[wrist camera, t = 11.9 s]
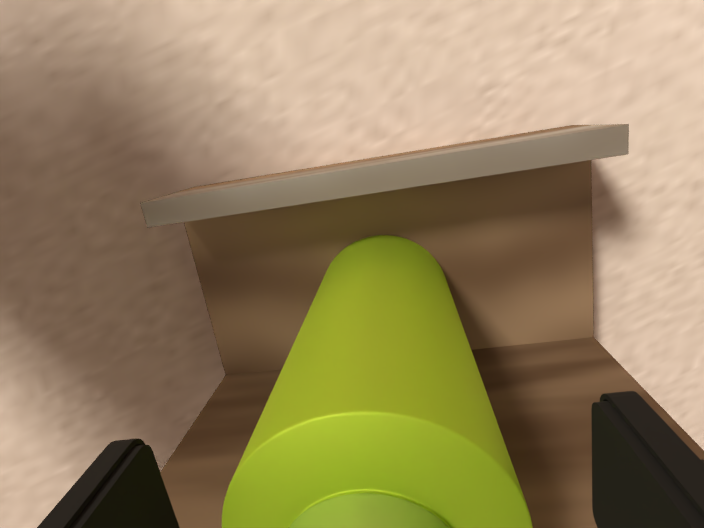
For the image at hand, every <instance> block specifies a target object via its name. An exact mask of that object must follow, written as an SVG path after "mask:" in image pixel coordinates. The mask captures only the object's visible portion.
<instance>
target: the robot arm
mask: <svg viewBox="0 0 704 528" xmlns="http://www.w3.org/2000/svg"><path fill="white" fill-rule="evenodd" d="M591 414H592V510H593V516H594V520H595V523H596V525H597V528H704V460H703V459H702V460H700V459H699V457H698V456H697V455H696V454H695V453H694V452H693V451H692V450H691V449H690V448H689V447H688V446H687V445H686V444H685V443H684V442H683V441H682V439H681V438H680V437H679V436H678V435H677V434H676V433H675V432H674V431H673V430H672V429H671V428H670V427H669V426H668V425H667V424H666V422H665V421H664V420H663V419H662V418H661V417H660V416H659V415H658V414H657V413H656V412H655V411H654V410H653V409H652V408H651V407H650V406H649V404H648V403H647V402H646V401H645V400H644V399H643V398H642V397H641V396H640V395H639V394H638V393H637V392H635V391H625V392H614V393H604V394H602V395H601V397H600V402H594V403H593V404H592V409H591ZM37 528H180V527H179V524H178V521H177V519H176V516H175V513H174V510H173V507H172V505H171V502H170V499H169V496H168V493H167V490H166V488H165V485H164V482H163V479H162V476H161V474H160V471H159V468H158V465H157V462H156V460H155V457H154V454H153V451H152V449H151V447H150V446H149V445H145V443H144V442H143V441H142V440H141V439H130V440H119V441H114V442H111V443H110V444H109V445H108V446H107V447H106V448H105V449H104V450H103V452H102V453H101V454H100V455H99V456H98V457H97V459H96V460H95V461H94V462H93V463H92V464H91V466H90V467H89V468H88V469H87V470H86V471H85V472H84V474H83V475H82V476H81V477H80V478H79V479H78V481H77V482H76V483H75V484H74V485H73V486H72V488H71V489H70V490H69V491H68V492H67V493H66V495H65V496H64V497H63V498H62V499H61V500H60V502H59V503H58V504H57V505H56V506H55V507H54V509H53V510H52V511H51V512H50V513H49V514H48V516H47V517H46V518H45V519H44V520H43V521H42V523H41V524H40V525H39V526H38V527H37Z"/></svg>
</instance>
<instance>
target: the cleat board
mask: <svg viewBox="0 0 704 528" xmlns="http://www.w3.org/2000/svg"><path fill="white" fill-rule="evenodd" d="M628 137H629V124H618V125H571V126H565V127H559V128H553V129H547V130H540V131H534V132H528V133H522V134H516V135H510V136H504V137H498V138H491V139H485V140H479V141H473V142H467V143H461V144H455V145H449V146H442V147H436V148H430V149H424V150H418V151H412V152H406V153H400V154H393V155H387V156H381V157H375V158H369V159H363V160H357V161H351V162H344V163H338V164H332V165H326V166H320V167H314V168H308V169H302V170H295V171H289V172H283V173H277V174H271V175H265V176H259V177H253V178H246V179H240V180H234V181H228V182H222V183H216V184H210V185H204V186H197V187H193V188H189V189H186V190H182V191H179V192H176V193H172V194H169V195H165V196H162V197H159V198H155V199H152V200H148V201H145V202H142V203H140V204H141V207H142V211H143V214H144V217H145V221H146V224H147V228H149V227H155V226H162V225H168V224H175V223H182V222H184V224H185V228H186V232H187V235H188V239H189V243H190V246H191V250H192V253H193V257H194V261H195V264H196V268H197V272H198V275H199V279H200V283H201V286H202V290H203V294H204V297H205V301H206V305H207V308H208V312H209V316H210V319H211V323H212V327H213V330H214V334H215V338H216V341H217V345H218V349H219V352H220V356H221V359H222V363H223V367H224V370H225V374H226V376H225V377H224V379H223V380H222V382H221V383H220V385H219V386H218V388H217V389H216V391H215V392H214V394H213V395H212V397H211V398H210V399H209V401H208V402H207V404H206V405H205V407H204V408H203V410H202V411H201V413H200V414H199V416H198V417H197V419H196V420H195V422H194V423H193V425H192V426H191V428H190V429H189V431H188V432H187V434H186V435H185V437H184V438H183V440H182V441H181V443H180V444H179V446H178V447H177V448H176V450H175V451H174V453H173V454H172V456H171V457H170V459H169V460H168V462H167V463H166V465H165V466H164V468H163V469H162V471H161V472H160V474H161V476H162V479H163V482H164V485H165V488H166V490H167V493H168V496H169V499H170V502H171V505H172V507H173V510H174V513H175V516H176V519H177V521H178V524H179V527H180V528H222V510H223V504H224V500H225V496H226V493H227V490H228V487H229V484H230V482H231V480H232V478H233V476H234V473H235V471H236V469H237V467H238V465H239V462H240V460H241V458H242V456H243V454H244V451H245V449H246V447H247V445H248V443H249V440H250V438H251V436H252V434H253V432H254V429H255V427H256V425H257V423H258V421H259V418H260V416H261V414H262V412H263V410H264V408H265V405H266V403H267V401H268V399H269V397H270V394H271V392H272V390H273V388H274V386H275V383H276V381H277V379H278V377H279V375H280V372H281V370H282V368H283V366H284V364H285V361H286V359H287V357H288V355H289V353H290V350H291V348H292V346H293V344H294V342H295V339H296V337H297V335H298V333H299V331H300V328H301V326H302V324H303V322H304V320H305V318H306V315H307V313H308V311H309V309H310V307H311V304H312V302H313V300H314V298H315V296H316V293H317V291H318V289H319V287H320V285H321V282H322V280H323V278H324V276H325V274H326V271H327V269H328V267H329V265H330V264H331V262H332V261H333V260H334V258H335V257H336V256H337V255H338V254H339V253H340V252H341V251H342V250H343V249H344V248H346V247H347V246H349V245H350V244H352V243H354V242H356V241H358V240H360V239H363V238H366V237H370V236H376V235H392V236H398V237H402V238H405V239H408V240H411V241H413V242H415V243H417V244H419V245H420V246H422V247H423V248H424V249H426V250H427V251H428V252H429V253H430V254H431V255H432V256H433V257H434V258H435V259H436V261H437V262H438V264H439V265H440V267H441V269H442V271H443V273H444V275H445V278H446V281H447V284H448V287H449V289H450V292H451V295H452V298H453V300H454V303H455V306H456V309H457V312H458V314H459V317H460V320H461V323H462V326H463V328H464V331H465V334H466V337H467V339H468V342H469V345H470V348H471V351H472V353H473V356H474V359H475V362H476V365H477V367H478V370H479V373H480V376H481V378H482V381H483V384H484V387H485V390H486V392H487V395H488V398H489V401H490V404H491V406H492V409H493V412H494V415H495V417H496V420H497V423H498V426H499V429H500V431H501V434H502V437H503V440H504V443H505V445H506V448H507V451H508V454H509V456H510V459H511V462H512V465H513V468H514V470H515V473H516V476H517V479H518V482H519V484H520V487H521V490H522V493H523V495H524V498H525V501H526V504H527V507H528V510H529V513H530V517H531V521H532V526H533V528H597V525H596V523H595V520H594V516H593V510H592V414H591V409H592V404H593V403H594V402H600V397H601V395H602V394H604V393H614V392H625V391H635V392H637V393H638V394H639V395H640V396H641V397H642V398H643V399H644V400H645V401H646V402H647V403H648V404H649V406H650V407H651V408H652V409H653V410H654V411H655V412H656V413H657V414H658V415H659V416H660V417H661V418H662V419H663V420H664V421H665V422H666V424H667V425H668V426H669V427H670V428H671V429H672V430H673V431H674V432H675V433H676V434H677V435H678V436H679V437H680V438H681V439H682V441H683V442H684V443H685V444H686V445H687V446H688V447H689V448H690V449H691V450H692V451H693V452H694V453H695V454H696V455H697V456H698V457H699V459H700V460H702V459H703V460H704V451H703V450H702V448H701V447H700V446H699V445H698V444H697V443H696V442H695V441H694V440H693V439H692V438H691V437H690V436H689V435H688V434H687V433H686V432H685V431H684V430H683V429H682V428H681V427H680V426H679V425H678V424H677V423H676V422H675V421H674V420H673V419H672V418H671V417H670V415H669V414H668V413H667V412H666V411H665V410H664V409H663V408H662V407H661V406H660V405H659V404H658V403H657V402H656V401H655V400H654V399H653V398H652V397H651V396H650V395H649V394H648V393H647V392H646V391H645V390H644V389H643V388H642V387H641V386H640V385H639V384H638V382H637V381H636V380H635V379H634V378H633V377H632V376H631V375H630V374H629V373H628V372H627V371H626V370H625V369H624V368H623V367H622V366H621V365H620V364H619V363H618V362H617V361H616V360H615V359H614V358H613V357H612V356H611V355H610V354H609V353H608V352H607V351H606V349H605V348H604V347H603V346H602V345H601V344H600V343H599V342H598V341H597V340H596V339H595V338H594V337H593V264H592V186H591V160H594V159H600V158H607V157H613V156H620V155H626V154H628Z"/></svg>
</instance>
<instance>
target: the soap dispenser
mask: <svg viewBox="0 0 704 528" xmlns="http://www.w3.org/2000/svg"><path fill="white" fill-rule="evenodd" d="M222 528H533V526H532V521H531V517H530V513H529V510H528V507H527V504H526V501H525V498H524V495H523V493H522V490H521V487H520V484H519V482H518V479H517V476H516V473H515V470H514V468H513V465H512V462H511V459H510V456H509V454H508V451H507V448H506V445H505V443H504V440H503V437H502V434H501V431H500V429H499V426H498V423H497V420H496V417H495V415H494V412H493V409H492V406H491V404H490V401H489V398H488V395H487V392H486V390H485V387H484V384H483V381H482V378H481V376H480V373H479V370H478V367H477V365H476V362H475V359H474V356H473V353H472V351H471V348H470V345H469V342H468V339H467V337H466V334H465V331H464V328H463V326H462V323H461V320H460V317H459V314H458V312H457V309H456V306H455V303H454V300H453V298H452V295H451V292H450V289H449V287H448V284H447V281H446V278H445V275H444V273H443V271H442V269H441V267H440V265H439V264H438V262H437V261H436V259H435V258H434V257H433V256H432V255H431V254H430V253H429V252H428V251H427V250H426V249H424V248H423V247H422V246H420V245H419V244H417V243H415V242H413V241H411V240H408V239H405V238H402V237H398V236H392V235H376V236H370V237H366V238H363V239H360V240H358V241H356V242H354V243H352V244H350V245H349V246H347V247H346V248H344V249H343V250H342V251H341V252H340V253H339V254H338V255H337V256H336V257H335V258H334V260H333V261H332V262H331V264H330V265H329V267H328V269H327V271H326V274H325V276H324V278H323V280H322V282H321V285H320V287H319V289H318V291H317V293H316V296H315V298H314V300H313V302H312V304H311V307H310V309H309V311H308V313H307V315H306V318H305V320H304V322H303V324H302V326H301V328H300V331H299V333H298V335H297V337H296V339H295V342H294V344H293V346H292V348H291V350H290V353H289V355H288V357H287V359H286V361H285V364H284V366H283V368H282V370H281V372H280V375H279V377H278V379H277V381H276V383H275V386H274V388H273V390H272V392H271V394H270V397H269V399H268V401H267V403H266V405H265V408H264V410H263V412H262V414H261V416H260V418H259V421H258V423H257V425H256V427H255V429H254V432H253V434H252V436H251V438H250V440H249V443H248V445H247V447H246V449H245V451H244V454H243V456H242V458H241V460H240V462H239V465H238V467H237V469H236V471H235V473H234V476H233V478H232V480H231V482H230V484H229V487H228V490H227V493H226V496H225V500H224V504H223V510H222Z"/></svg>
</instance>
